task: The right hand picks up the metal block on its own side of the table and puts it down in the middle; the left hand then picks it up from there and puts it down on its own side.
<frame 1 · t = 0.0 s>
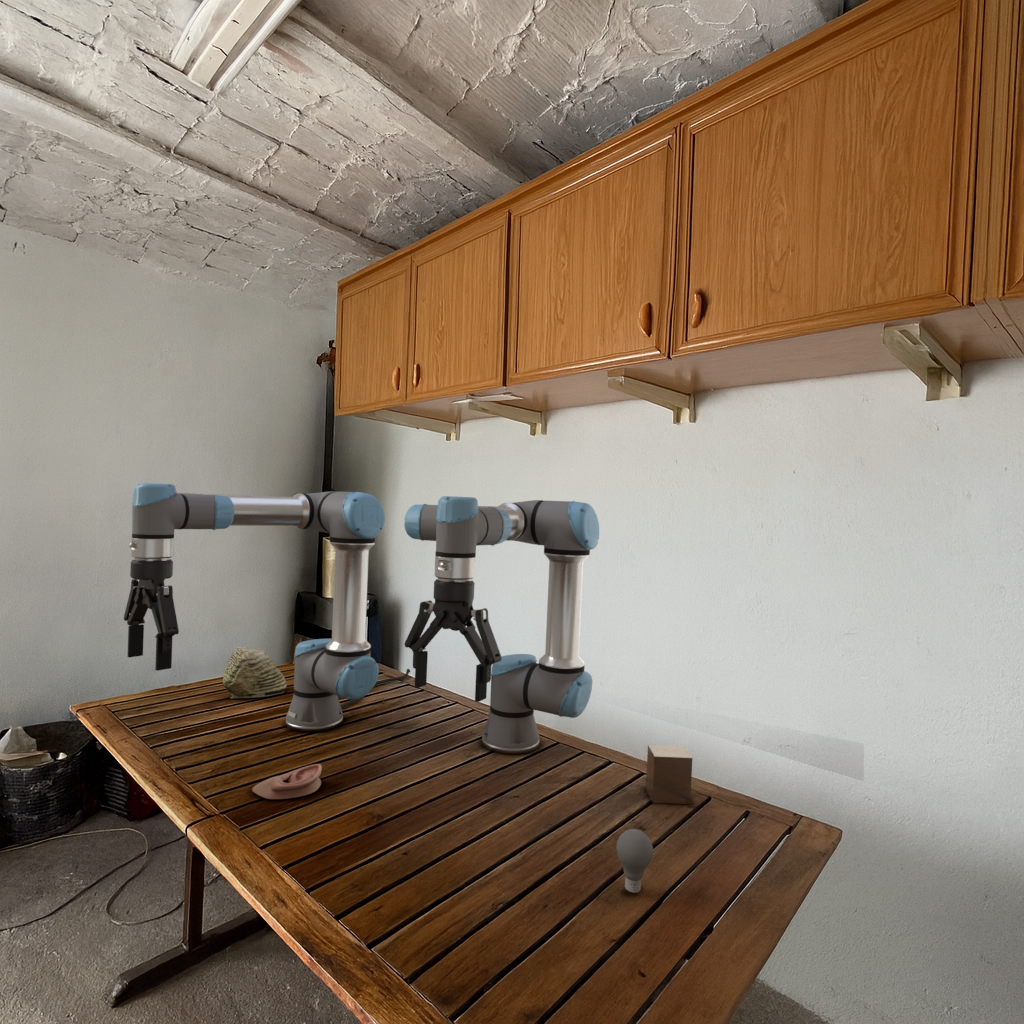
left hand: (148, 662, 129), 28 cm above the table, tool pointing down, fingers open, 13 cm apart
right hand: (449, 693, 118), 28 cm above the table, tool pointing down, fingers open, 13 cm apart
fossil: (254, 694, 198), on the table
block: (667, 796, 141), on the table
anatomical model: (287, 788, 137), on the table
light bulb: (632, 891, 106), on the table
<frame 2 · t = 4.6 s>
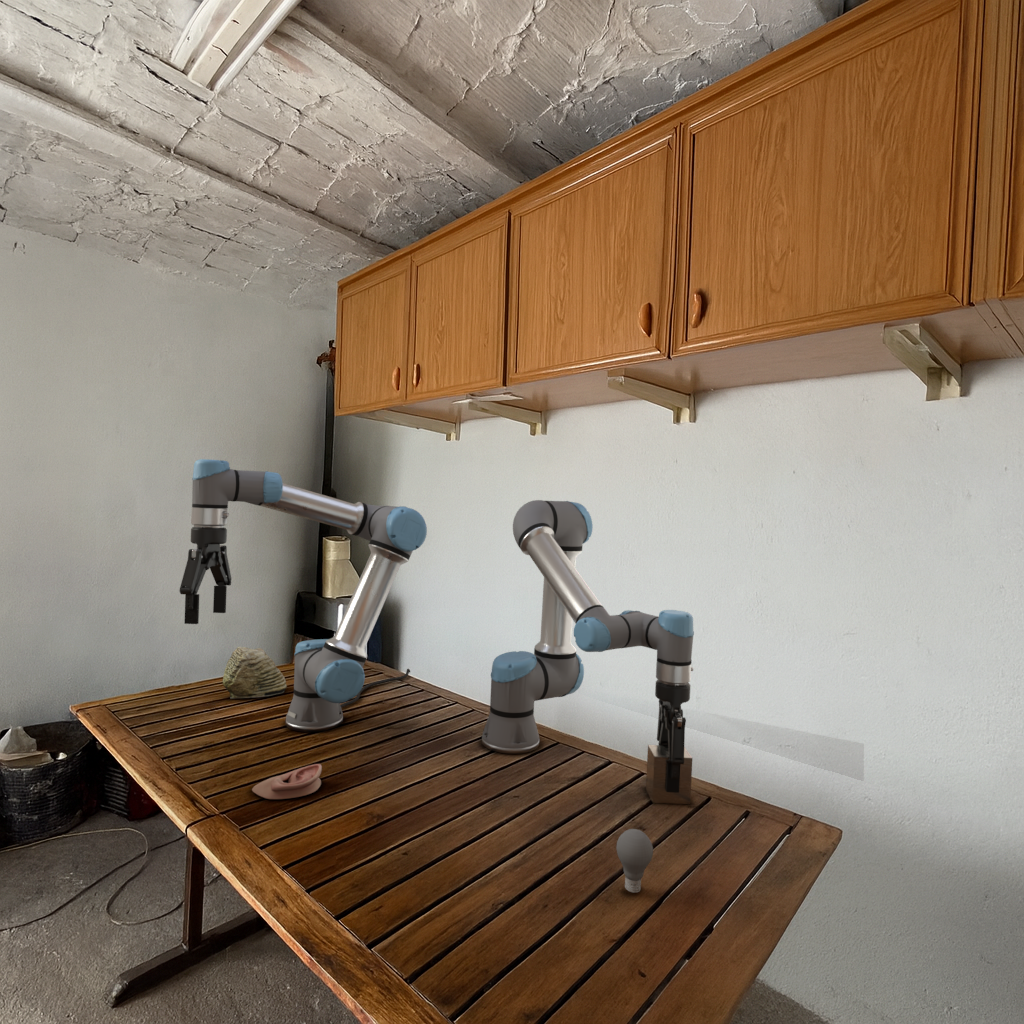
left hand: (206, 618, 147), 34 cm above the table, tool pointing down, fingers open, 13 cm apart
right hand: (668, 783, 141), 3 cm above the table, tool pointing down, fingers closed on block, 6 cm apart
block: (667, 796, 141), on the table, touching right hand
everything else where it was.
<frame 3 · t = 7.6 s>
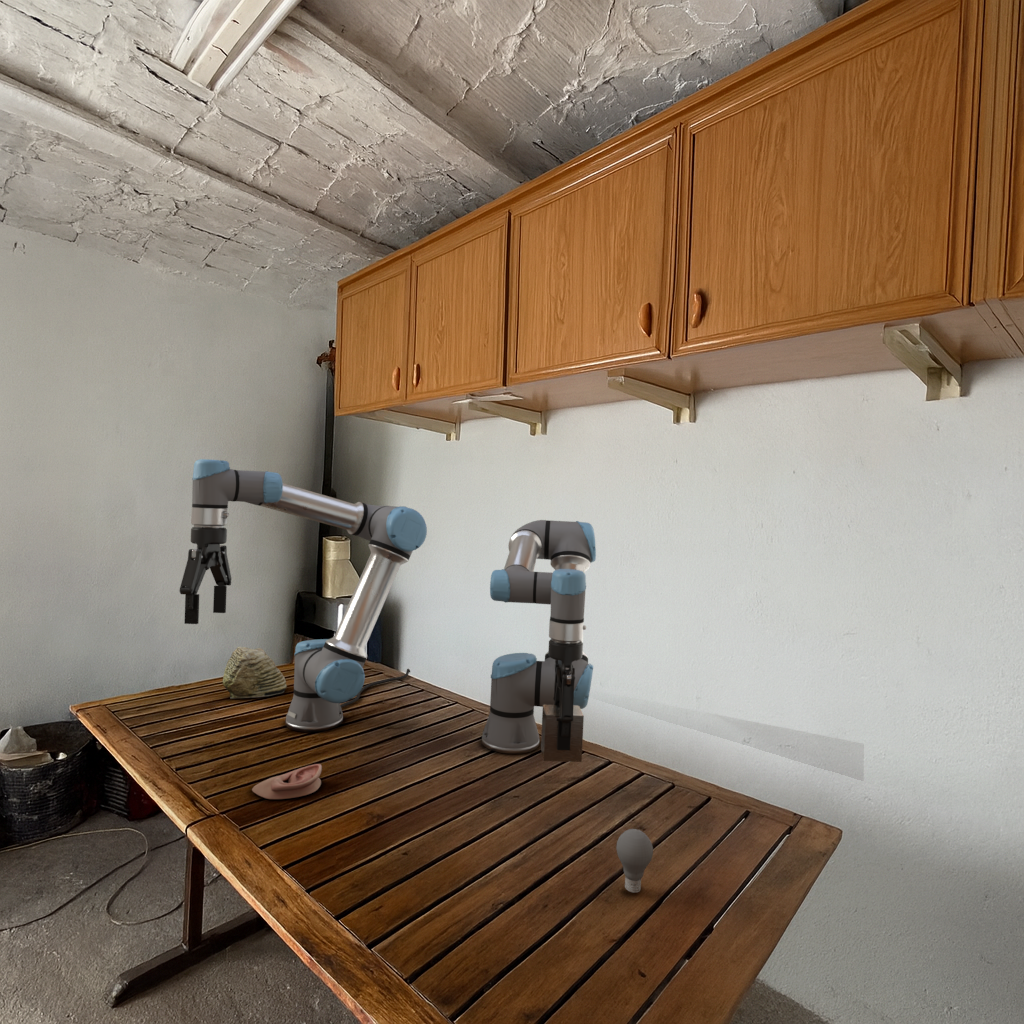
left hand: (206, 618, 147), 34 cm above the table, tool pointing down, fingers open, 13 cm apart
right hand: (561, 742, 140), 11 cm above the table, tool pointing down, fingers closed on block, 6 cm apart
block: (560, 755, 141), point 8 cm above the table, touching right hand
everything else where it was.
when the right hand's fingers open (4 cm above the table, at t = 11.1 s): block drops 2 cm, on the table.
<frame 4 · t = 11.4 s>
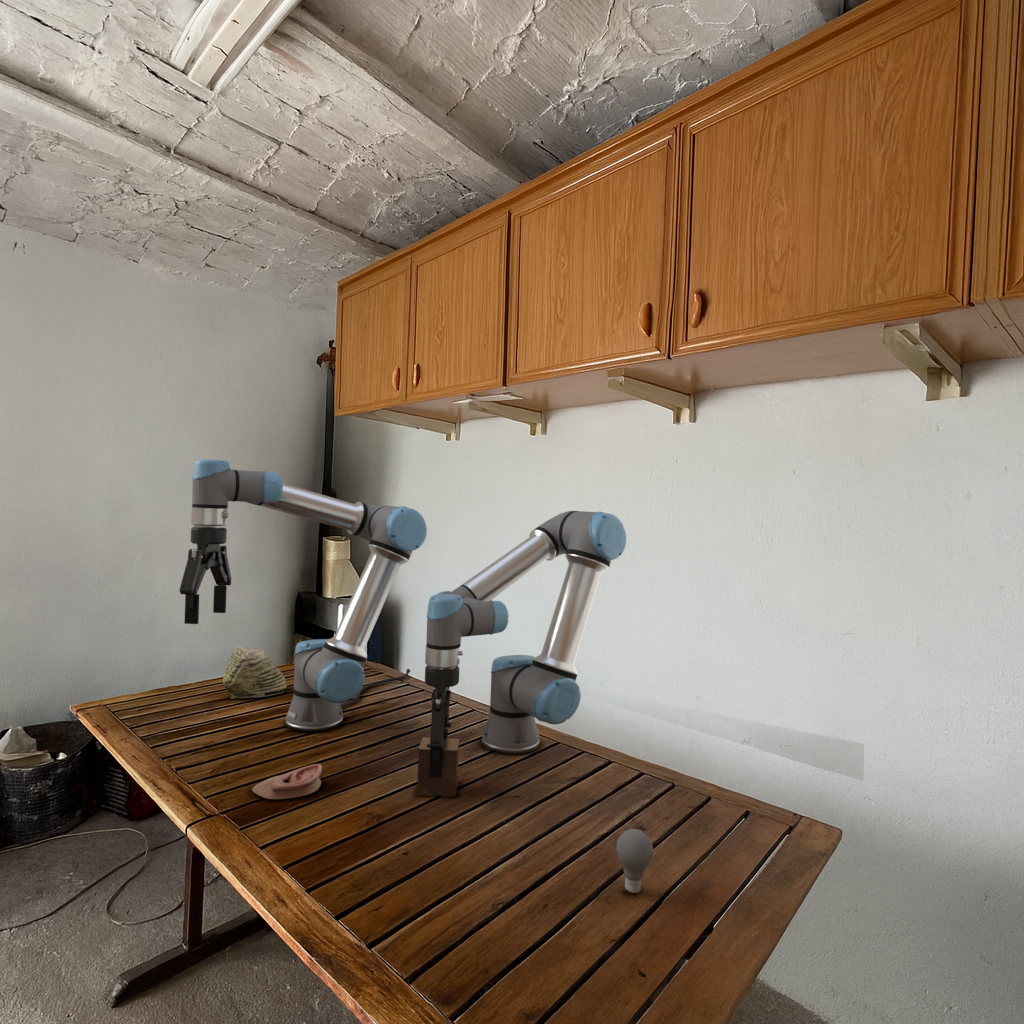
left hand: (206, 618, 147), 34 cm above the table, tool pointing down, fingers open, 13 cm apart
right hand: (438, 766, 139), 5 cm above the table, tool pointing down, fingers open, 9 cm apart
block: (437, 789, 139), on the table
everything else where it was.
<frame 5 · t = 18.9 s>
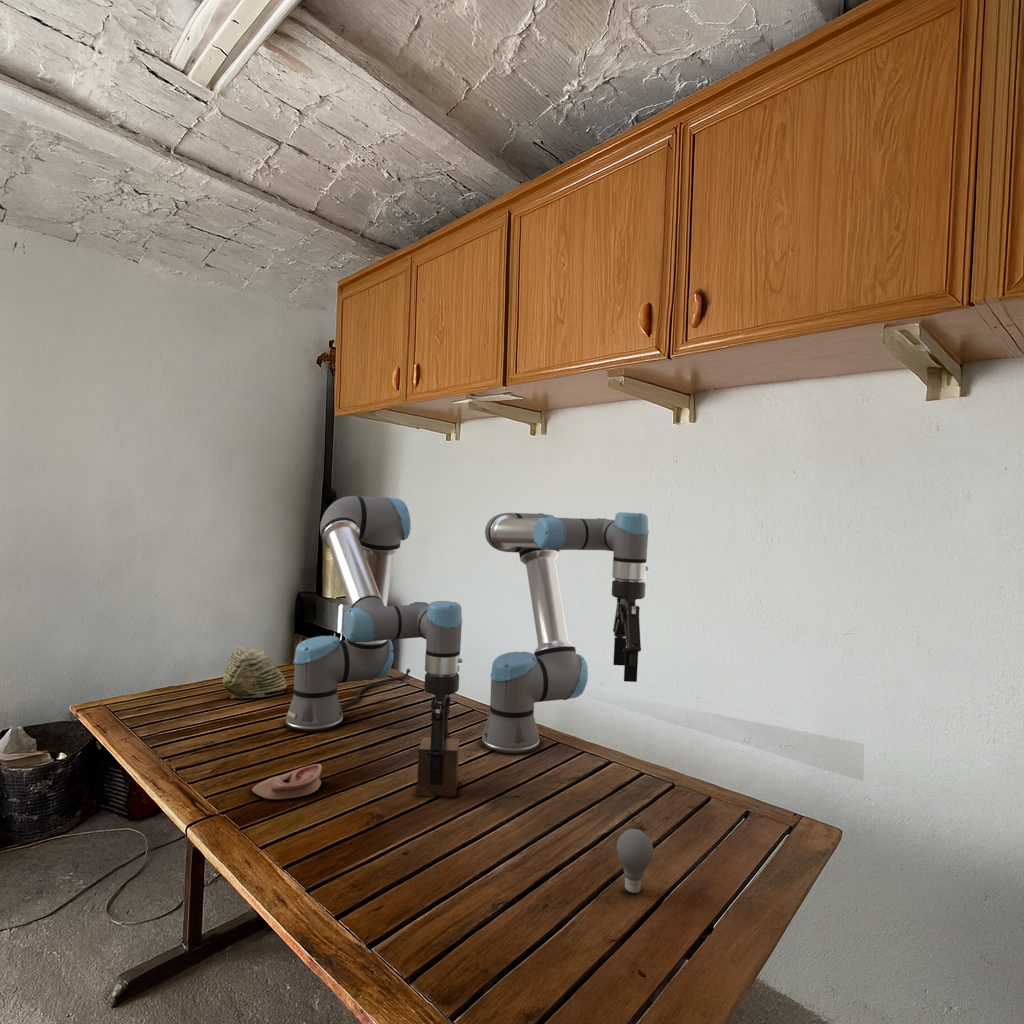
left hand: (437, 776, 139), 3 cm above the table, tool pointing down, fingers closed on block, 6 cm apart
right hand: (624, 672, 145), 26 cm above the table, tool pointing down, fingers open, 13 cm apart
block: (437, 789, 139), on the table, touching left hand
everything else where it was.
when the left hand's fingers open (4 cm above the table, at t = 26.1 s): block drops 2 cm, on the table.
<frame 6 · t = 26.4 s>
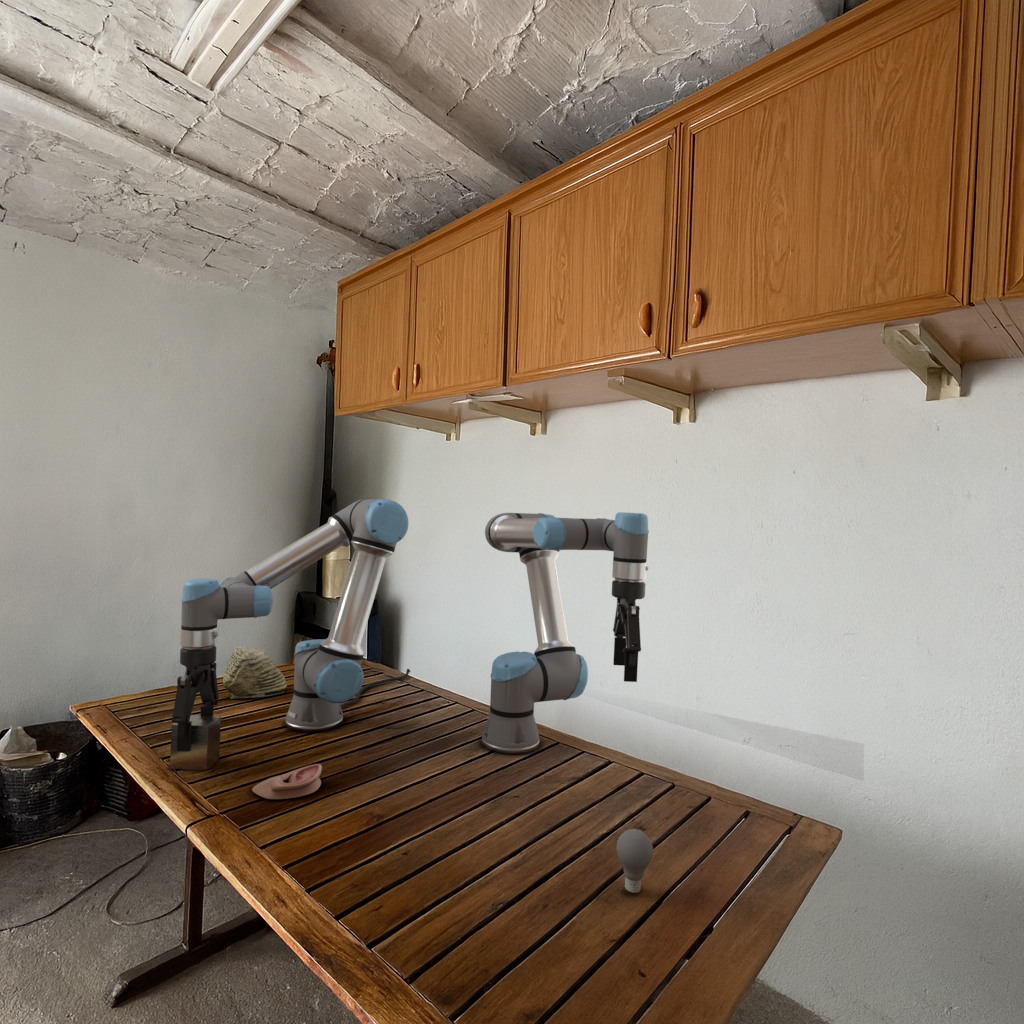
left hand: (195, 741, 147), 5 cm above the table, tool pointing down, fingers open, 10 cm apart
right hand: (624, 672, 145), 26 cm above the table, tool pointing down, fingers open, 13 cm apart
block: (195, 763, 147), on the table
everything else where it was.
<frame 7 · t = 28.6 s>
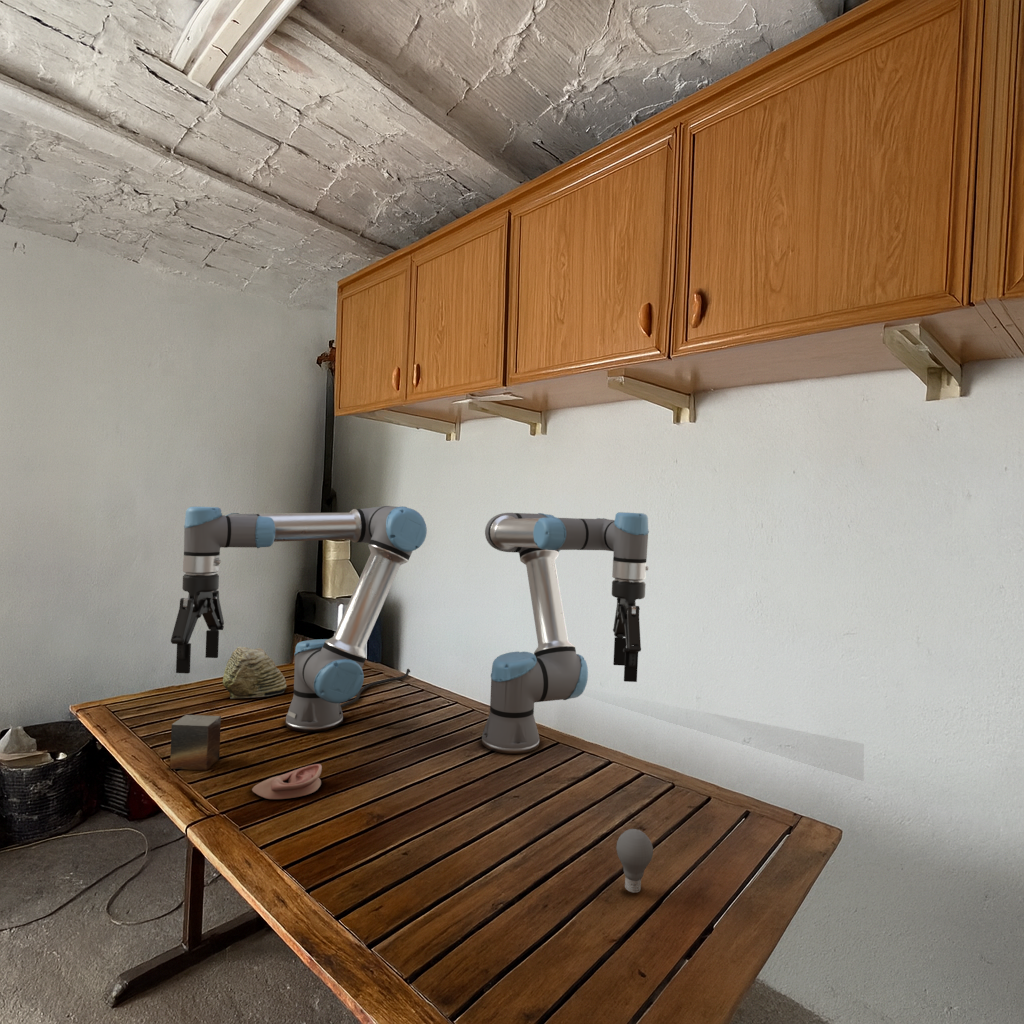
left hand: (198, 665, 147), 23 cm above the table, tool pointing down, fingers open, 13 cm apart
right hand: (624, 672, 145), 26 cm above the table, tool pointing down, fingers open, 13 cm apart
nothing on the table moved.
at the end: block inside the target area (0.1 cm from its centre), on the table; block tilted 0°; the two hands never held the block at the same time; the left hand is holding nothing; the right hand is holding nothing; block at rest at the end (0.0 cm/s) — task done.
